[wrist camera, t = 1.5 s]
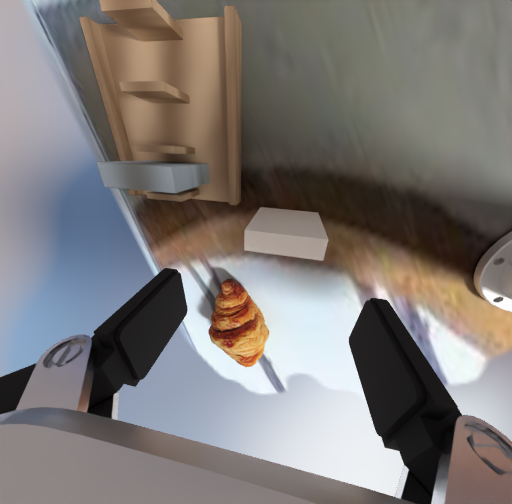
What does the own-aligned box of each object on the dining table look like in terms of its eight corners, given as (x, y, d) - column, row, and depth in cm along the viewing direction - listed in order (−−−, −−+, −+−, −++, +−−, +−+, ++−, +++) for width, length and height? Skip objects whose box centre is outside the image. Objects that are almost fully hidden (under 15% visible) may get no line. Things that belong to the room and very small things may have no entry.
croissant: (266, 341, 40) (281, 378, 33) (221, 358, 38) (227, 401, 31) (251, 260, 30) (268, 288, 23) (190, 278, 28) (188, 314, 21)
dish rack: (241, 23, 15) (196, -86, 8) (240, 201, 23) (216, 221, 16) (101, 31, 17) (-27, -50, 10) (142, 192, 25) (81, 206, 18)
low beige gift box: (318, 212, 21) (328, 239, 14) (314, 228, 22) (323, 260, 15) (260, 207, 22) (244, 229, 16) (259, 222, 23) (244, 250, 16)
